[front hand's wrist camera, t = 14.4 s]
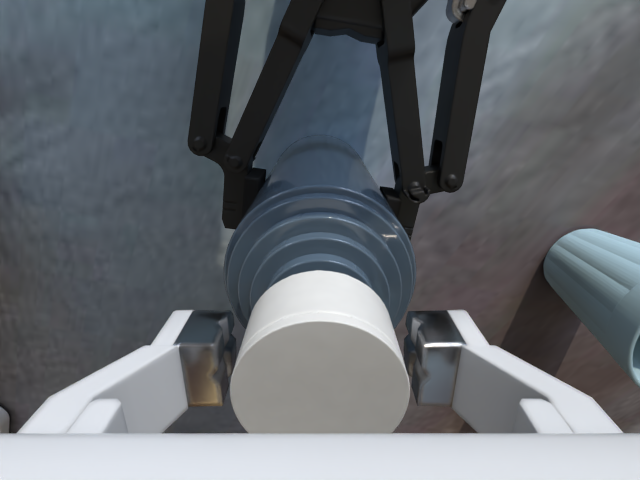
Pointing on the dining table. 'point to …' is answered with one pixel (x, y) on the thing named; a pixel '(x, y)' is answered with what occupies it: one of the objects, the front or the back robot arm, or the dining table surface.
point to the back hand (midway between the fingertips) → (308, 286)
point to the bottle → (319, 229)
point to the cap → (319, 360)
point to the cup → (601, 289)
